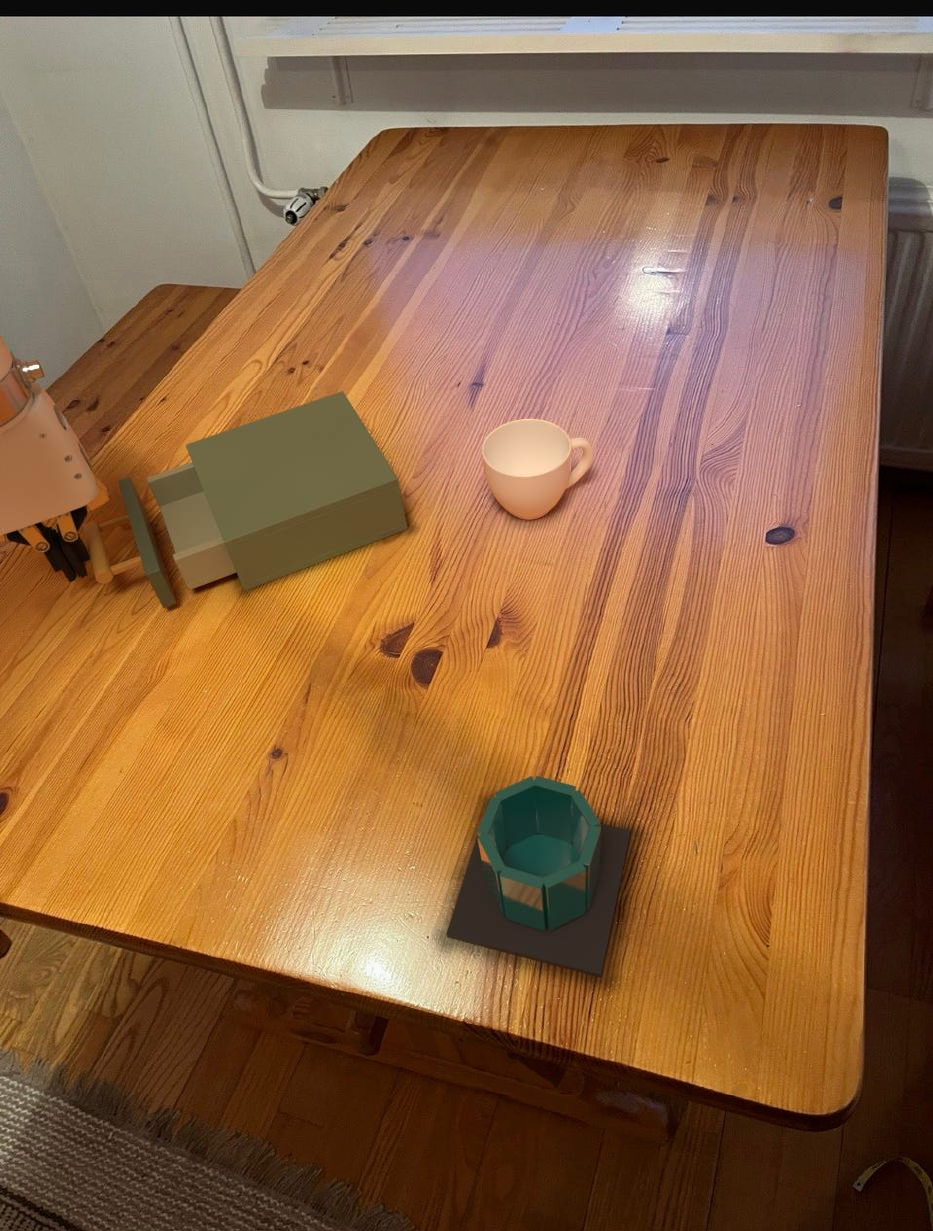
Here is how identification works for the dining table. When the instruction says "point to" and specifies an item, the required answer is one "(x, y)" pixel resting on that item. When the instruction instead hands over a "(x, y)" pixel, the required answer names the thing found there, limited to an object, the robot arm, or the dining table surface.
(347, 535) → the cabinet
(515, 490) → the cup
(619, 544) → the dining table surface
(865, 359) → the dining table surface
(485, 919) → the mat
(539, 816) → the green octagonal cup
